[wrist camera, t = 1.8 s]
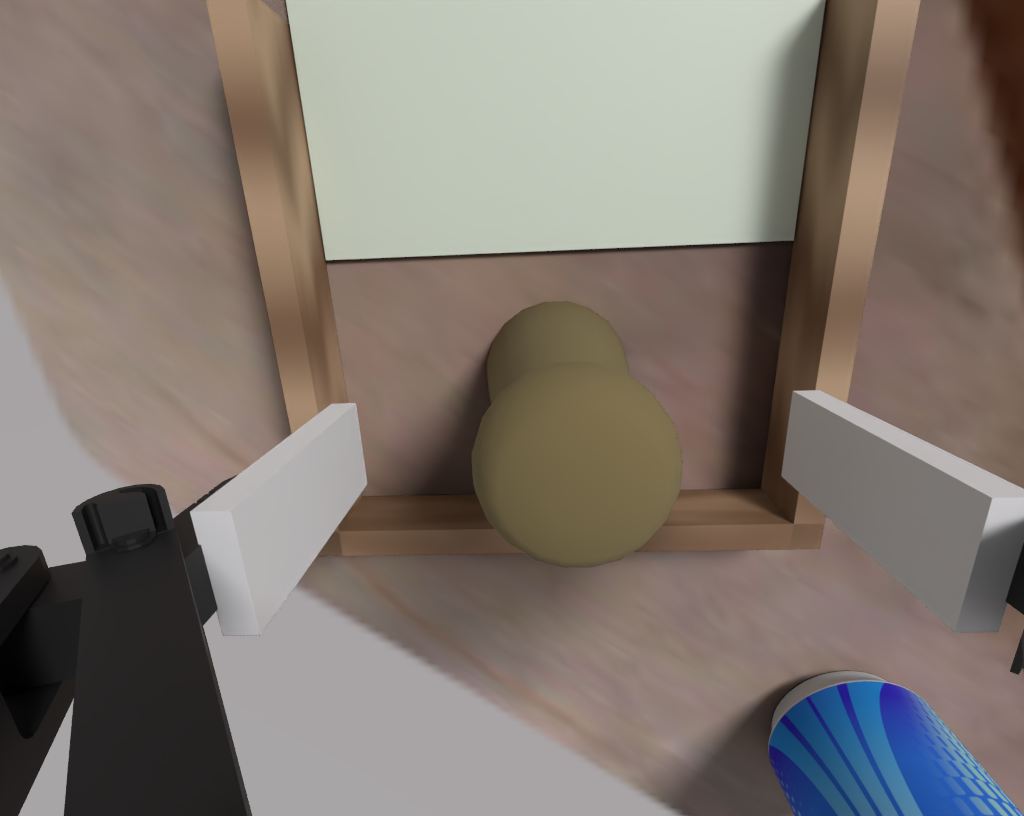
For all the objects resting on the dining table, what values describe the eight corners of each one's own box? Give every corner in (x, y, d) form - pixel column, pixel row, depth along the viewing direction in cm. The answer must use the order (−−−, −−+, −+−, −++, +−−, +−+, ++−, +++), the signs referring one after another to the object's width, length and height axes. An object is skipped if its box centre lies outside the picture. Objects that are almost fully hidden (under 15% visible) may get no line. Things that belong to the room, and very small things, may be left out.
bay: (256, 27, 18) (203, -14, 15) (863, -12, 17) (932, -64, 14) (340, 519, 24) (315, 556, 21) (784, 511, 23) (819, 549, 20)
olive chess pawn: (479, 427, 22) (434, 592, 12) (494, 291, 20) (457, 344, 10) (611, 445, 22) (683, 624, 12) (640, 311, 20) (756, 384, 10)
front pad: (286, -9, 17) (284, -12, 17) (828, -46, 16) (831, -49, 16) (327, 260, 20) (325, 260, 20) (791, 240, 19) (793, 240, 19)
